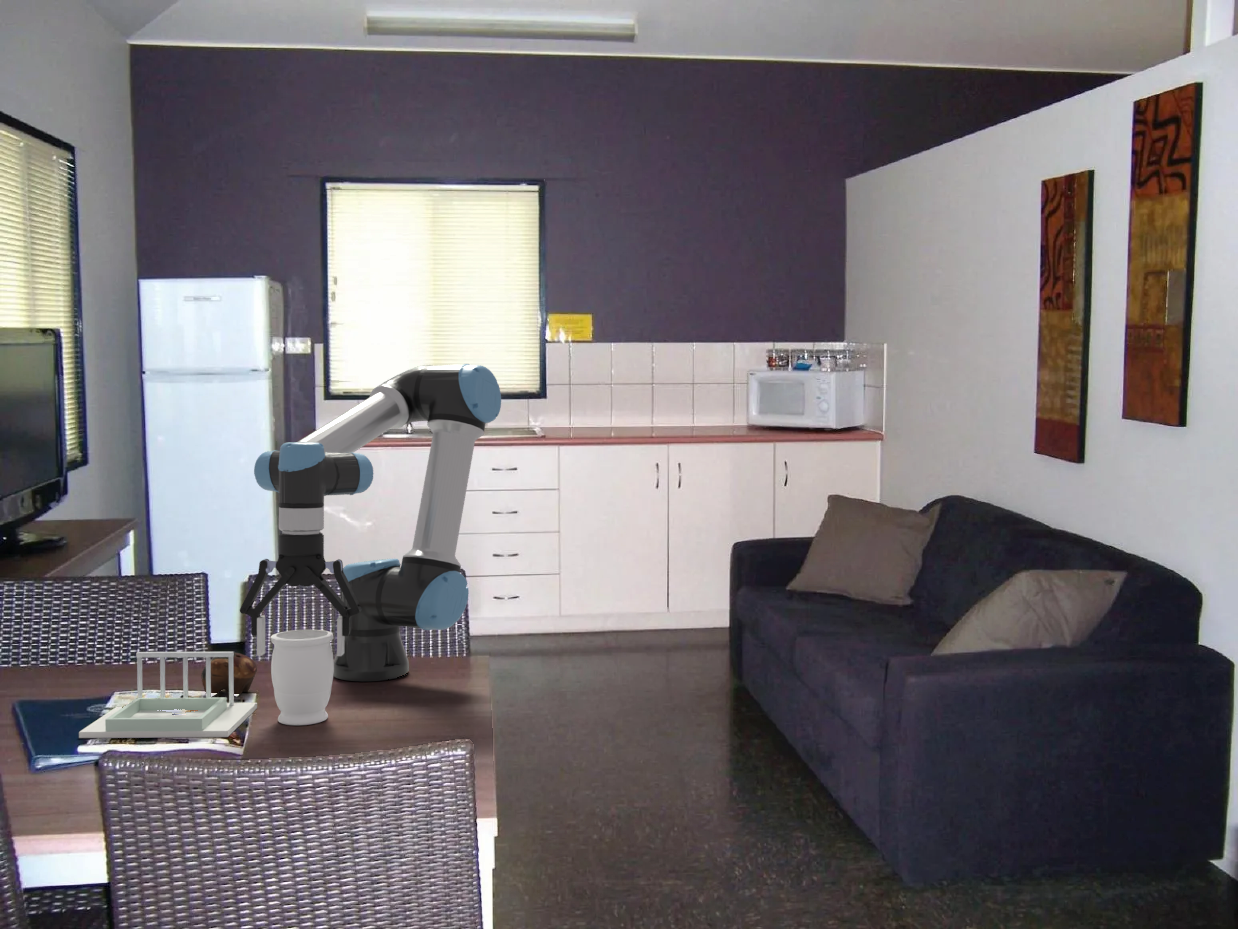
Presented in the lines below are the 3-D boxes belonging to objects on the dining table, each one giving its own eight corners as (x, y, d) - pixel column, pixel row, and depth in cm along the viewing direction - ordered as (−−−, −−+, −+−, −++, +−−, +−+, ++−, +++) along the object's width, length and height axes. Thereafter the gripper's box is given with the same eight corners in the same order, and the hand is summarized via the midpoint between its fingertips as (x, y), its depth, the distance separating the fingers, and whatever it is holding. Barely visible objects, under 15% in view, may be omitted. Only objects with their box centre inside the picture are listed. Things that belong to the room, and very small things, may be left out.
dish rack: (257, 708, 218) (256, 649, 218) (227, 737, 199) (227, 673, 199) (121, 709, 217) (120, 650, 217) (79, 738, 198) (77, 673, 198)
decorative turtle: (192, 704, 221) (190, 660, 221) (215, 690, 236) (213, 649, 236) (246, 700, 222) (244, 657, 222) (265, 687, 237) (263, 646, 237)
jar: (301, 731, 203) (300, 642, 202) (258, 722, 208) (257, 636, 208) (346, 717, 212) (346, 632, 211) (304, 709, 217) (304, 626, 217)
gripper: (377, 530, 213) (377, 650, 214) (233, 529, 212) (233, 650, 212) (370, 534, 205) (370, 659, 206) (221, 533, 204) (221, 658, 205)
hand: (300, 654), depth 209 cm, fingers open, 13 cm apart
